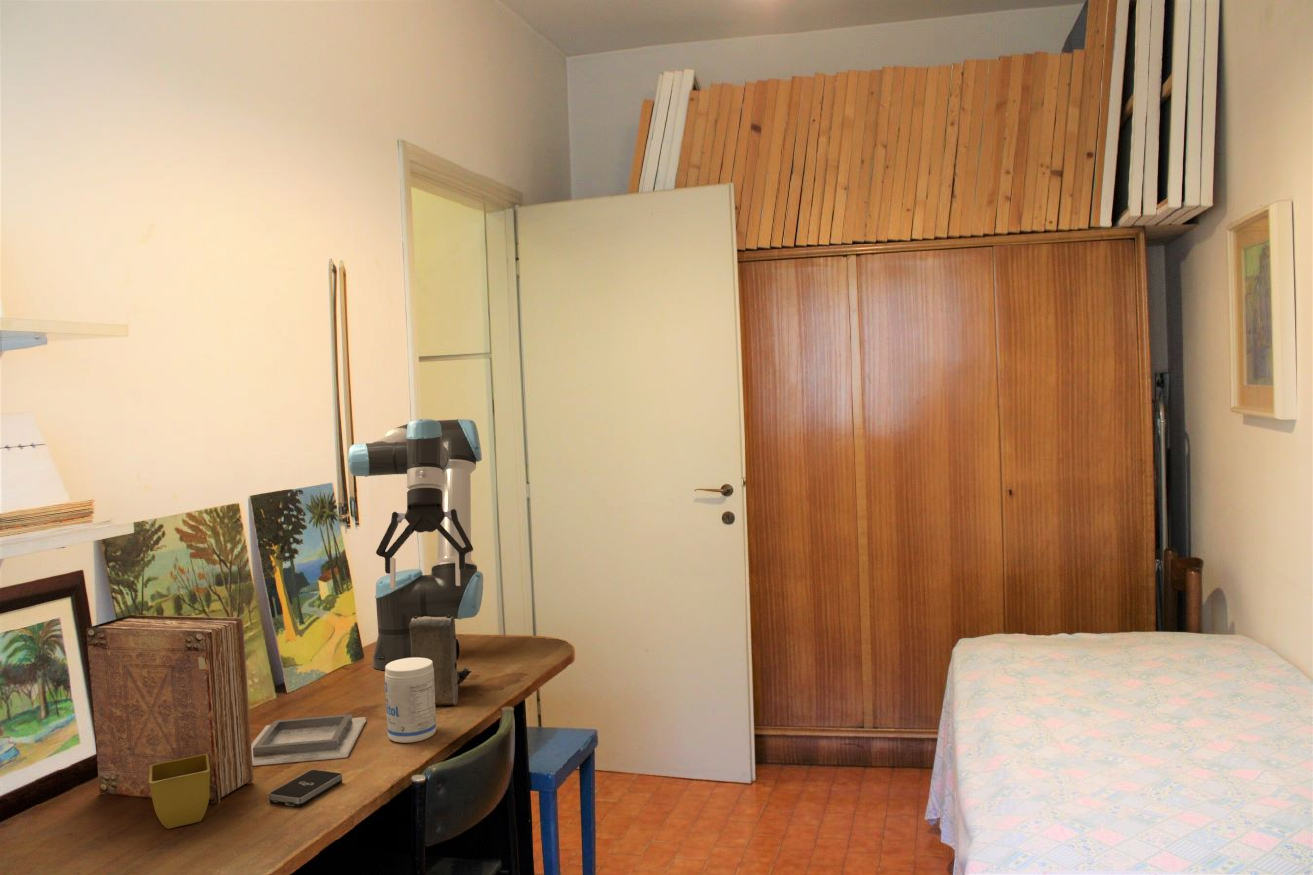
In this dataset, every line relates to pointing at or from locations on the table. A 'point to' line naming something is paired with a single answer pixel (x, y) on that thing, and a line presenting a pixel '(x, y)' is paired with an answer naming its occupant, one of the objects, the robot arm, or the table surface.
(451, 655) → the vintage camera
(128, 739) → the book
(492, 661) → the table surface
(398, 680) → the supplement tub
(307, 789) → the external hard drive
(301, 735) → the mounting plate
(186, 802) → the flower pot
